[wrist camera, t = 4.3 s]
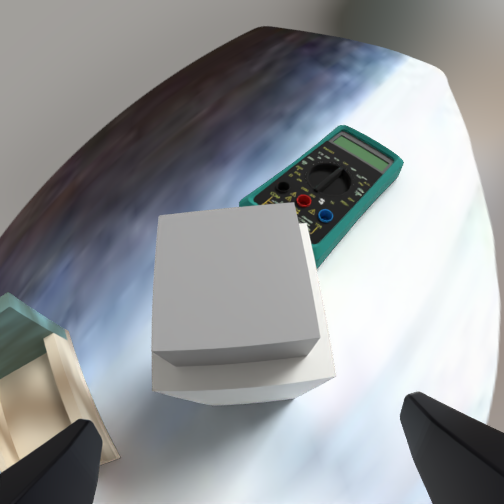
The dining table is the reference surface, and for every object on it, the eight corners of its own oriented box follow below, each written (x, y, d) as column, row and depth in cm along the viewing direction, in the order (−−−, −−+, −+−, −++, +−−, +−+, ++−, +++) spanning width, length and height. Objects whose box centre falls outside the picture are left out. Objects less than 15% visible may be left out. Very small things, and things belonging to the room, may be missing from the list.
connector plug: (294, 398, 17) (357, 363, 6) (212, 405, 17) (121, 382, 6) (285, 323, 20) (314, 181, 8) (208, 330, 19) (138, 199, 8)
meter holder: (120, 457, 15) (56, 467, 9) (28, 487, 12) (-37, 490, 6) (68, 331, 19) (8, 291, 13) (-9, 376, 17) (-69, 351, 11)
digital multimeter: (233, 224, 24) (230, 201, 22) (338, 140, 29) (343, 117, 27) (305, 283, 22) (311, 263, 19) (399, 177, 27) (408, 155, 24)
